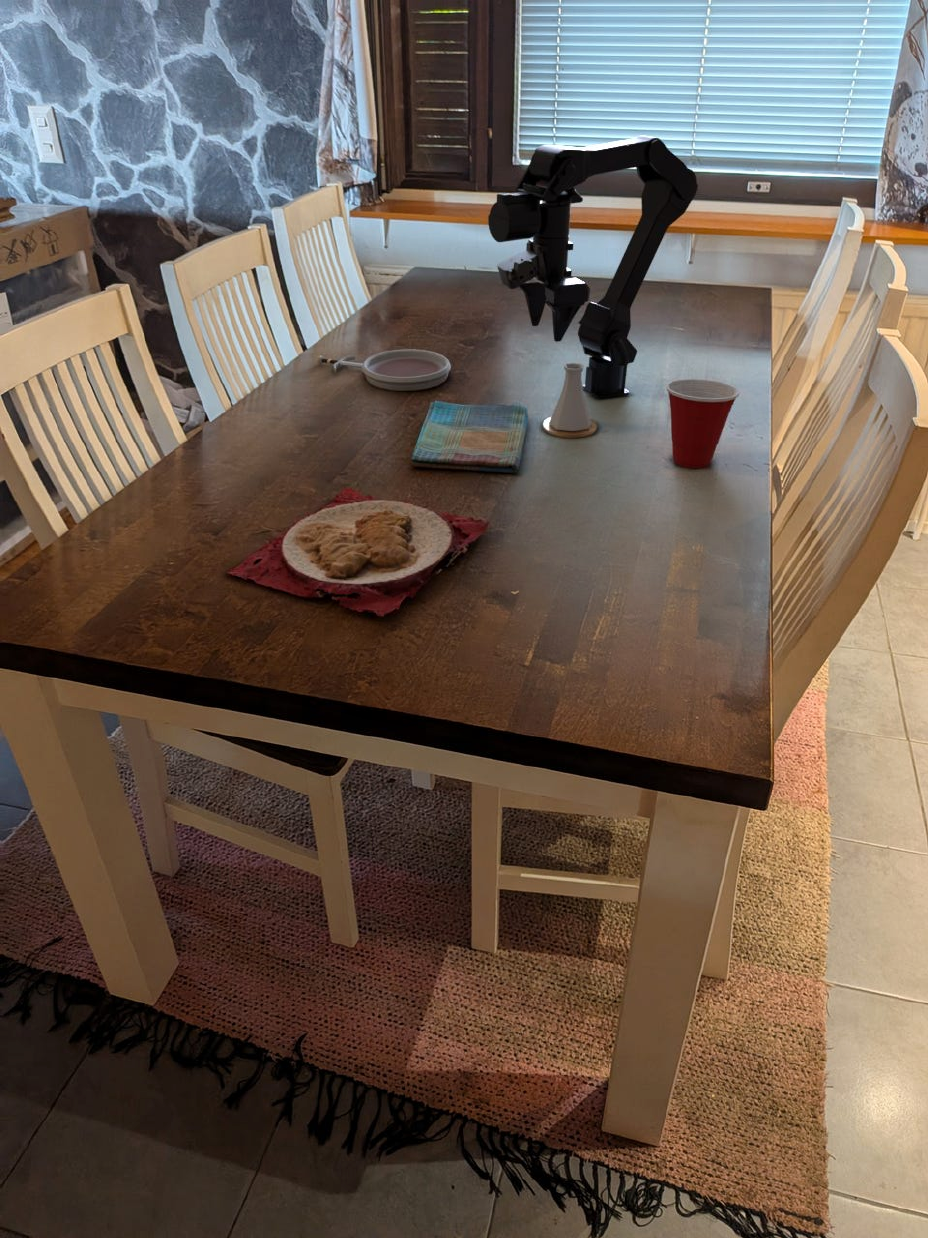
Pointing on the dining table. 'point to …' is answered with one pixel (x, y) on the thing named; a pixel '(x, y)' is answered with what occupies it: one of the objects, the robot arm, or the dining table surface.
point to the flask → (571, 402)
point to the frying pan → (400, 369)
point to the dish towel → (472, 437)
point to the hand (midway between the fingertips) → (546, 333)
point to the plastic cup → (698, 418)
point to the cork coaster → (569, 434)
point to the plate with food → (361, 551)
